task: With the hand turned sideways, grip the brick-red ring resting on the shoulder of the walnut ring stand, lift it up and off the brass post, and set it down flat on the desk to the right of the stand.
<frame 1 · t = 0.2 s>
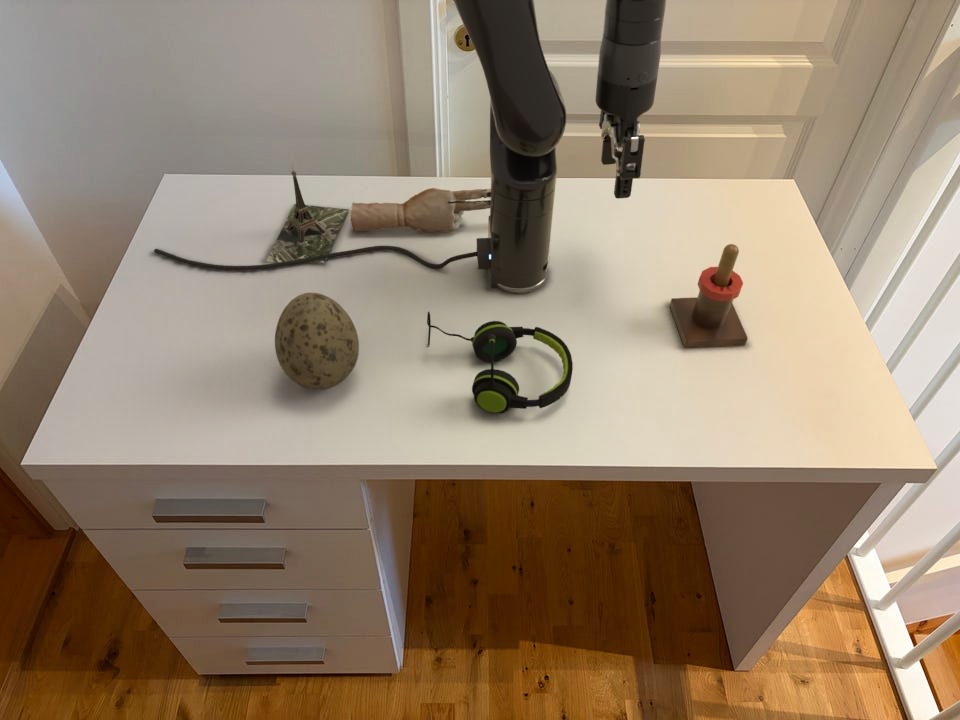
hand: (615, 179, 104), 17 cm above the table, tool pointing down, fingers open, 8 cm apart
headphones: (497, 376, 102), on the table
ring stand: (706, 324, 108), on the table
decorative egg: (325, 378, 101), on the table
ring: (720, 283, 102), point 8 cm above the table, touching ring stand
eiffel tower figurine: (309, 236, 122), on the table
mannequin hand: (428, 228, 124), on the table
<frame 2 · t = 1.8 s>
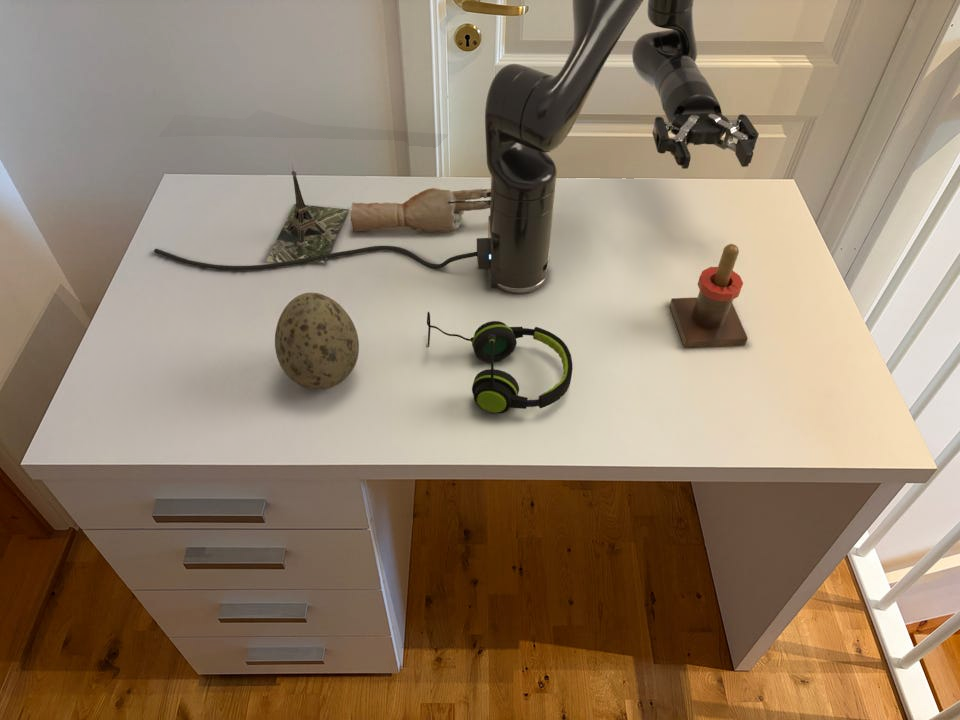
hand: (717, 162, 101), 20 cm above the table, tool horizontal, fingers open, 8 cm apart
nothing on the table moved.
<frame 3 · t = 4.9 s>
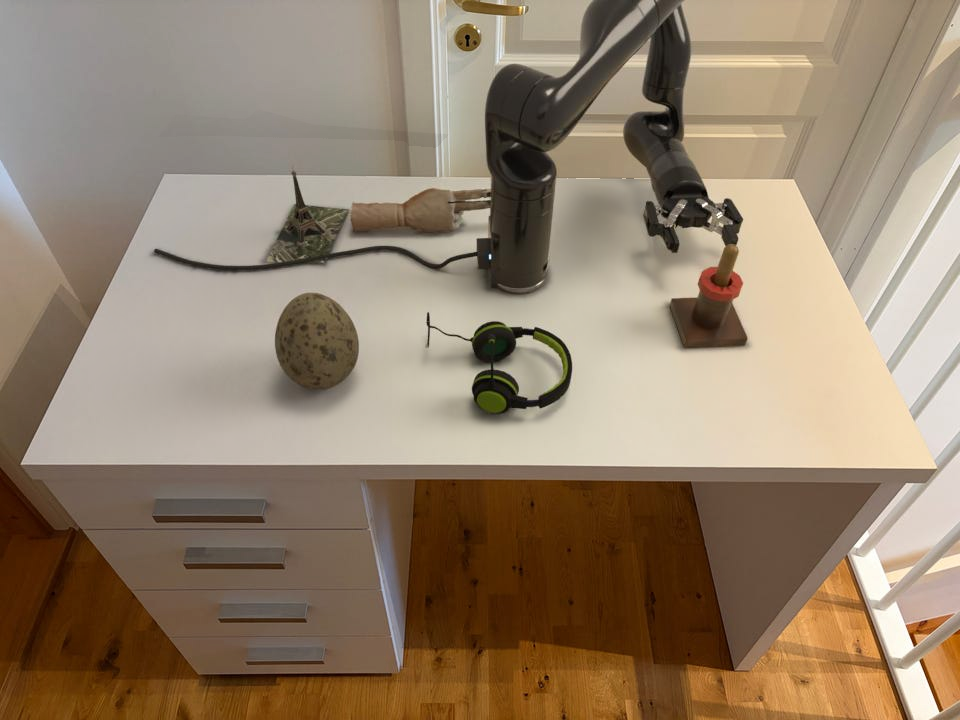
hand: (704, 247, 108), 8 cm above the table, tool horizontal, fingers open, 8 cm apart
nothing on the table moved.
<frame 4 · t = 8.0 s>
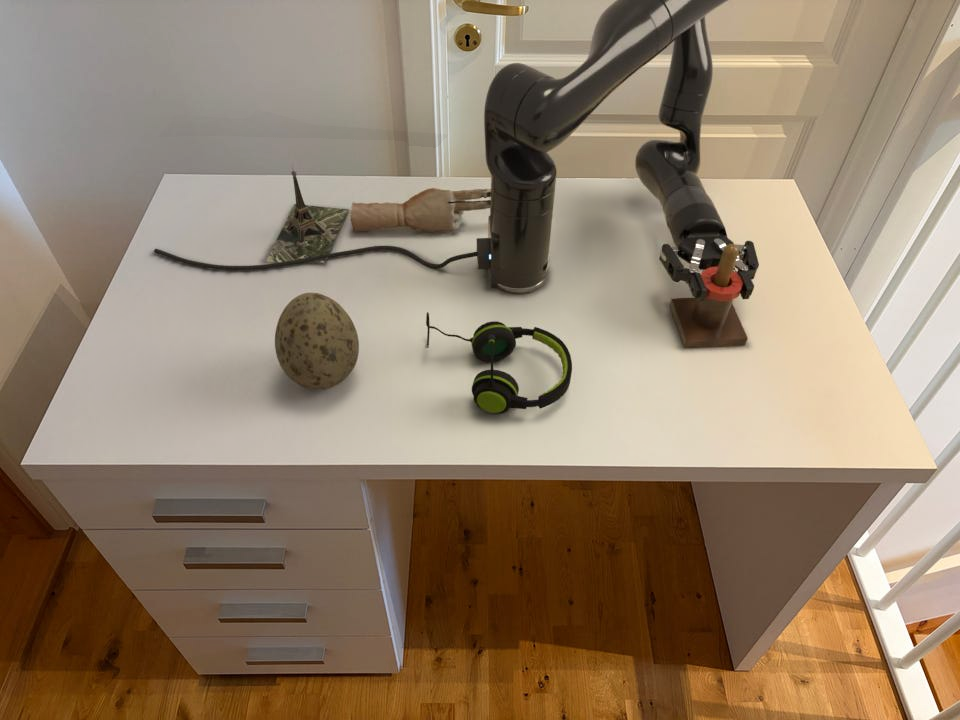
hand: (725, 295, 101), 8 cm above the table, tool horizontal, fingers closed on ring, 5 cm apart
ring: (720, 283, 102), point 8 cm above the table, touching gripper, ring stand
everything else where it was.
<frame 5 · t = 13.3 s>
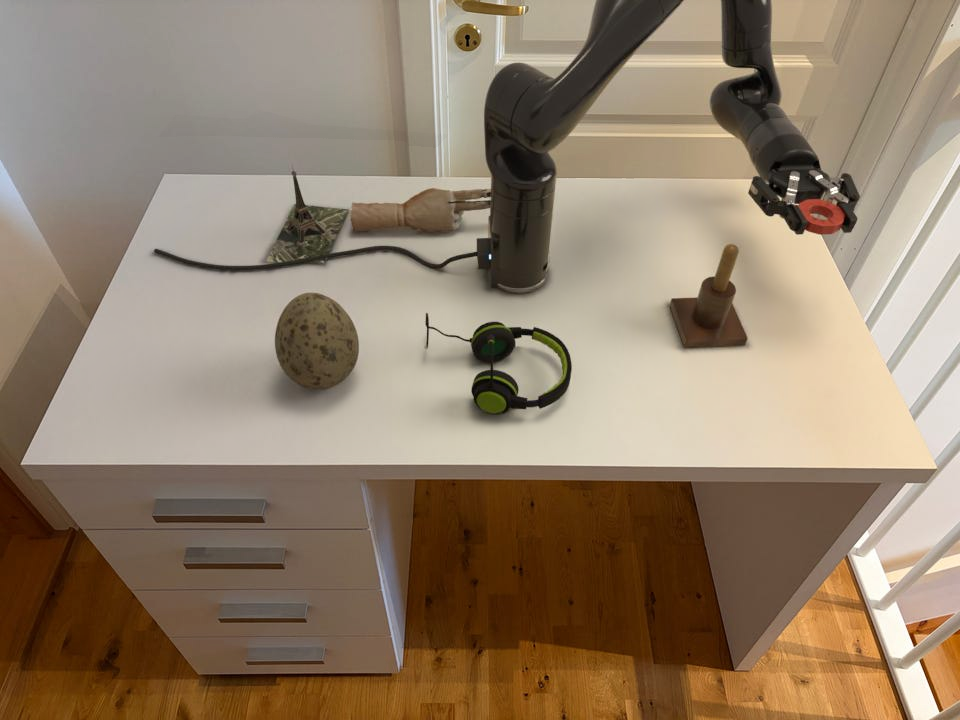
hand: (826, 228, 93), 19 cm above the table, tool horizontal, fingers closed on ring, 5 cm apart
ring: (819, 216, 95), point 19 cm above the table, touching gripper
everything else where it was.
when the fingers open (4 cm above the table, at t = 18.7 s): ring drops 3 cm, point 1 cm above the table.
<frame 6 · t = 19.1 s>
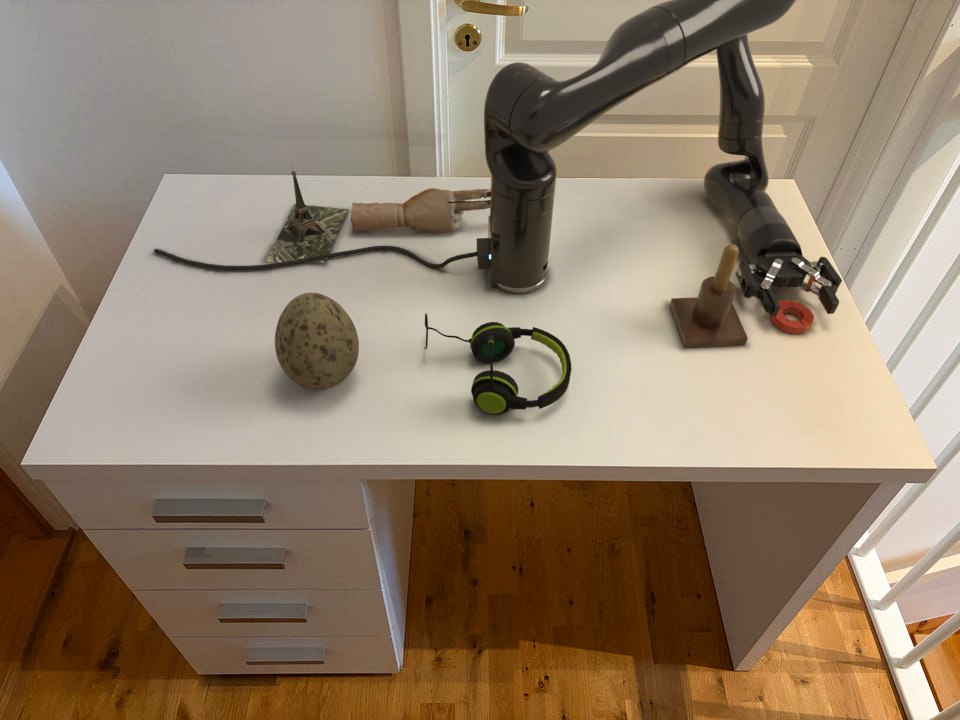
hand: (804, 311, 105), 4 cm above the table, tool horizontal, fingers open, 8 cm apart
ring: (791, 317, 109), point 1 cm above the table
everything else where it was.
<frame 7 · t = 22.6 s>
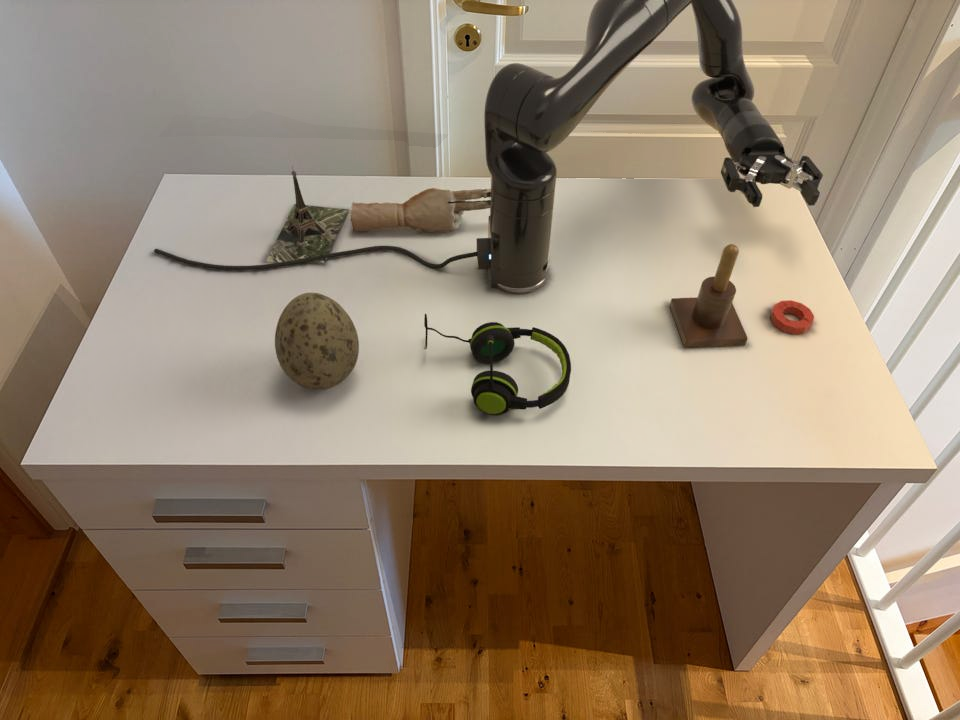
hand: (786, 201, 109), 12 cm above the table, tool horizontal, fingers open, 8 cm apart
nothing on the table moved.
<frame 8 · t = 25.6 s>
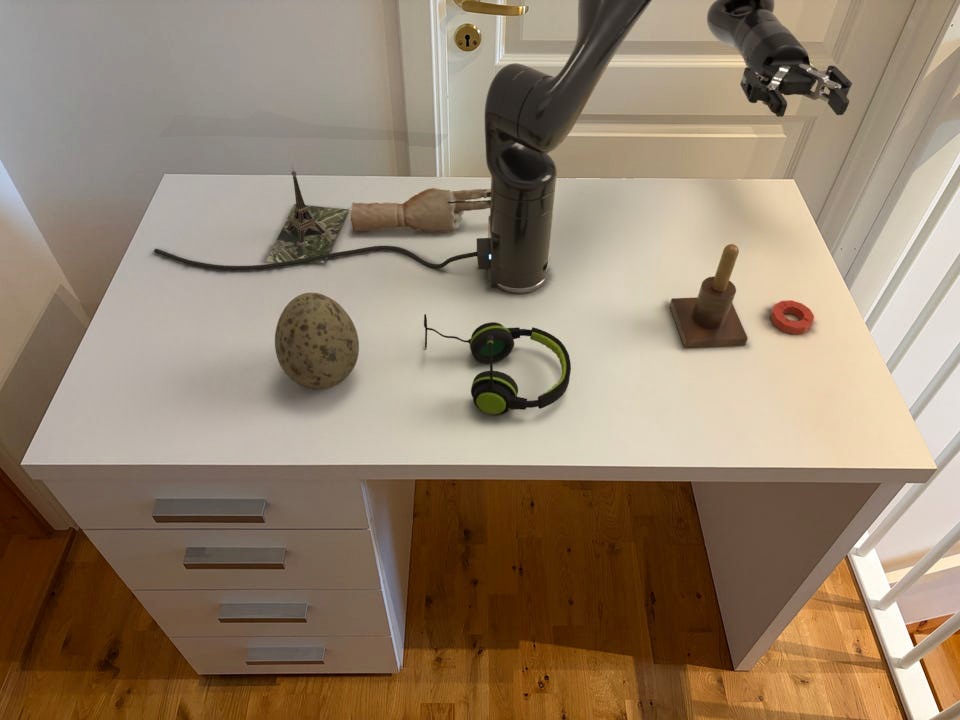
hand: (813, 109, 100), 26 cm above the table, tool horizontal, fingers open, 8 cm apart
nothing on the table moved.
at the end: ring inside the target area (0.2 cm from its centre), point 0.7 cm above the table; ring tilted 0°; the gripper is holding nothing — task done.
